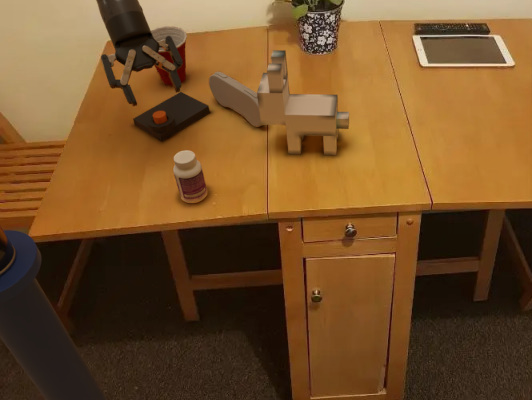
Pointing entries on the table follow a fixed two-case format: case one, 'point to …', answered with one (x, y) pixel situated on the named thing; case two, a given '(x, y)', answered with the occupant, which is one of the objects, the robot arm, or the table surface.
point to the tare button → (159, 117)
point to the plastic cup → (179, 41)
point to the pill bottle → (189, 177)
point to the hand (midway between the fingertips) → (156, 98)
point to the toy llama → (298, 109)
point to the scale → (172, 116)
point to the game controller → (235, 97)
